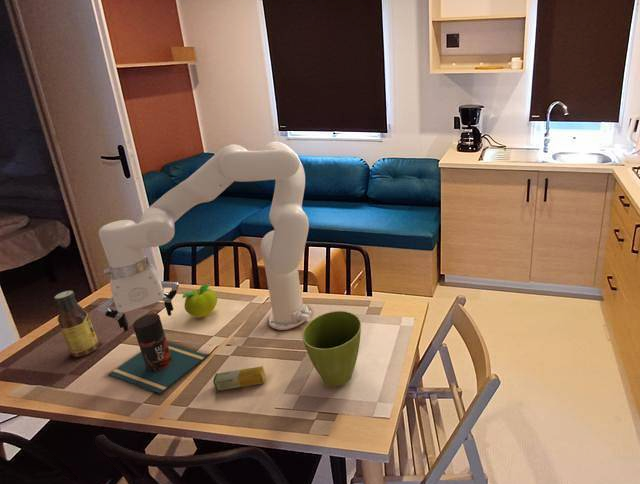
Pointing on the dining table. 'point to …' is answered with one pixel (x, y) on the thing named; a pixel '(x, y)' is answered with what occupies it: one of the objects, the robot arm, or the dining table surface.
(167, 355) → the deodorant
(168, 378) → the cloth
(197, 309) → the fruit
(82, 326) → the sauce bottle
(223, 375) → the medication box
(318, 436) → the dining table surface
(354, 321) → the flower pot
